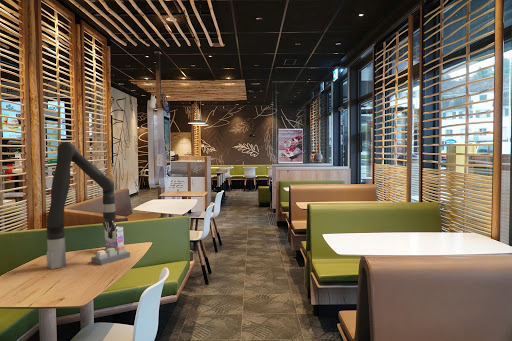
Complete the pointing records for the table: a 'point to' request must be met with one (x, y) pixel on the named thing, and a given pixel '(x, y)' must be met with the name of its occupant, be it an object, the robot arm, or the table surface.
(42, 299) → the table surface
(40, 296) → the table surface
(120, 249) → the terracotta button
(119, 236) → the candy box
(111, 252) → the sage button
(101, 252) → the cream button
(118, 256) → the button board
